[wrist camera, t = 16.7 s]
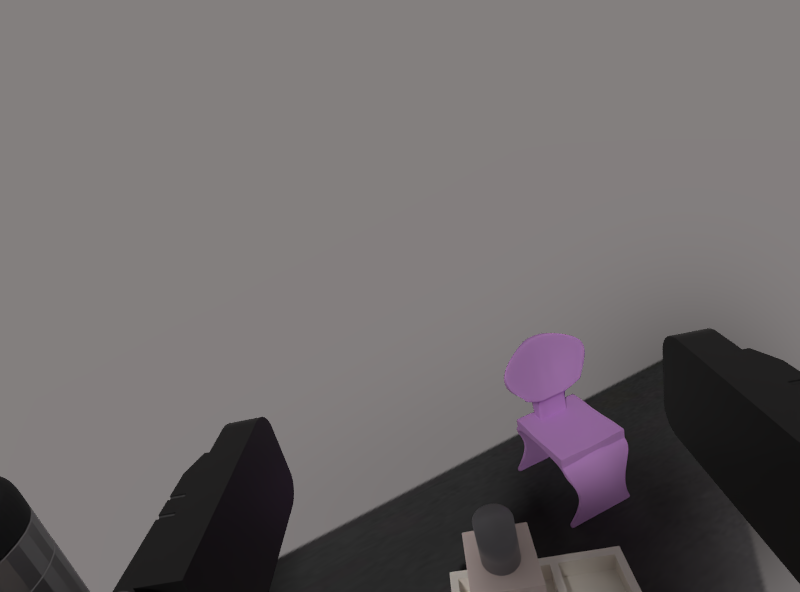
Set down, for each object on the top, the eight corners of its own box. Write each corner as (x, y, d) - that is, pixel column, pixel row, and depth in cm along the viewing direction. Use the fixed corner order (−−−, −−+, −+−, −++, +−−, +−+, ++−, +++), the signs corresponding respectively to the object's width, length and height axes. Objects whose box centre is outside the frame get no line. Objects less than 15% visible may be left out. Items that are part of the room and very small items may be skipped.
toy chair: (566, 538, 39) (546, 391, 34) (509, 473, 47) (485, 346, 42) (643, 495, 41) (636, 350, 36) (576, 440, 49) (561, 314, 44)
